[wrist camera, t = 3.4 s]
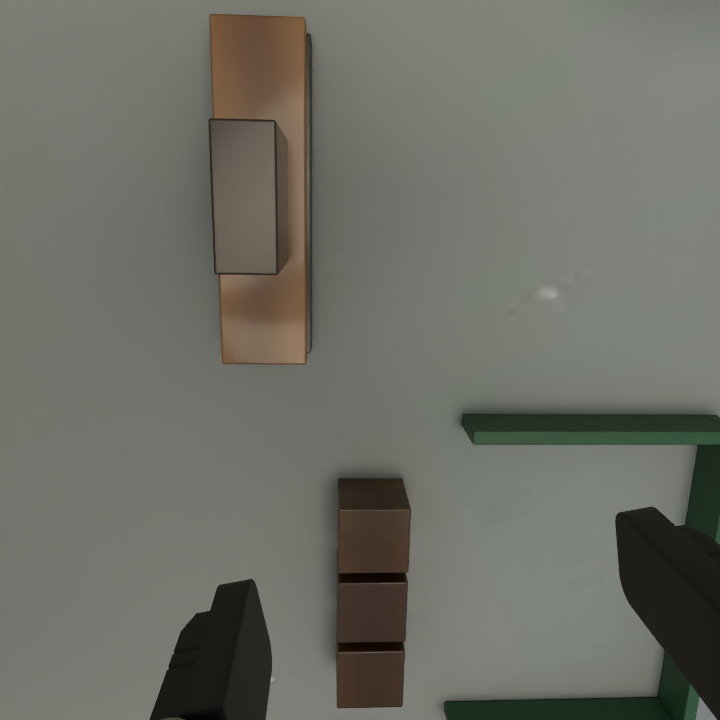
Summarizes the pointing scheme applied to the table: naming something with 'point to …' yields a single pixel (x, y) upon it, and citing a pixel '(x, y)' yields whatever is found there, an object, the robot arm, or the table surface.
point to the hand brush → (262, 186)
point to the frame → (705, 514)
